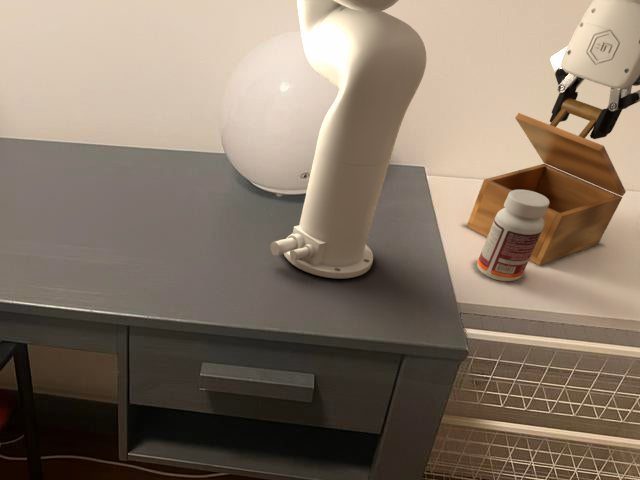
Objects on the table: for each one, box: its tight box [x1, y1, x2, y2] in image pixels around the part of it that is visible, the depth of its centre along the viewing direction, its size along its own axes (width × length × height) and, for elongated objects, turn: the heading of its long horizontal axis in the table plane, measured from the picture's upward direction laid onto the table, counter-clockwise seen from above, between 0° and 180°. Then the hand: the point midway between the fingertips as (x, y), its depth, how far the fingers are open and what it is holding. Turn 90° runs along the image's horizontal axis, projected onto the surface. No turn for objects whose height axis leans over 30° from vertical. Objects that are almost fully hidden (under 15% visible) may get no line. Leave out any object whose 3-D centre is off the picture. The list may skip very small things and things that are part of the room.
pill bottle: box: [476, 190, 549, 282], centre depth 102 cm, size 6×6×11 cm
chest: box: [466, 163, 623, 266], centre depth 112 cm, size 15×13×8 cm
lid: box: [515, 98, 627, 197], centre depth 106 cm, size 15×13×6 cm
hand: (577, 128), depth 104 cm, fingers closed on lid, 5 cm apart
